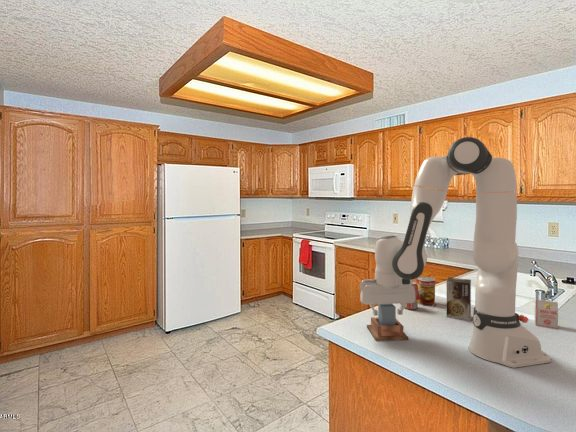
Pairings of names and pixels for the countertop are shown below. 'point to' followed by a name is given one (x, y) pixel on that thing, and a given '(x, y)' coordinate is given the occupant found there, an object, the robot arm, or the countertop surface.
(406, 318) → the countertop surface
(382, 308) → the square peg
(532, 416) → the countertop surface
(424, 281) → the canned food
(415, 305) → the beverage can
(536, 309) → the beige food box
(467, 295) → the coffee box
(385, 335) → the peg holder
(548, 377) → the countertop surface
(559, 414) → the countertop surface
